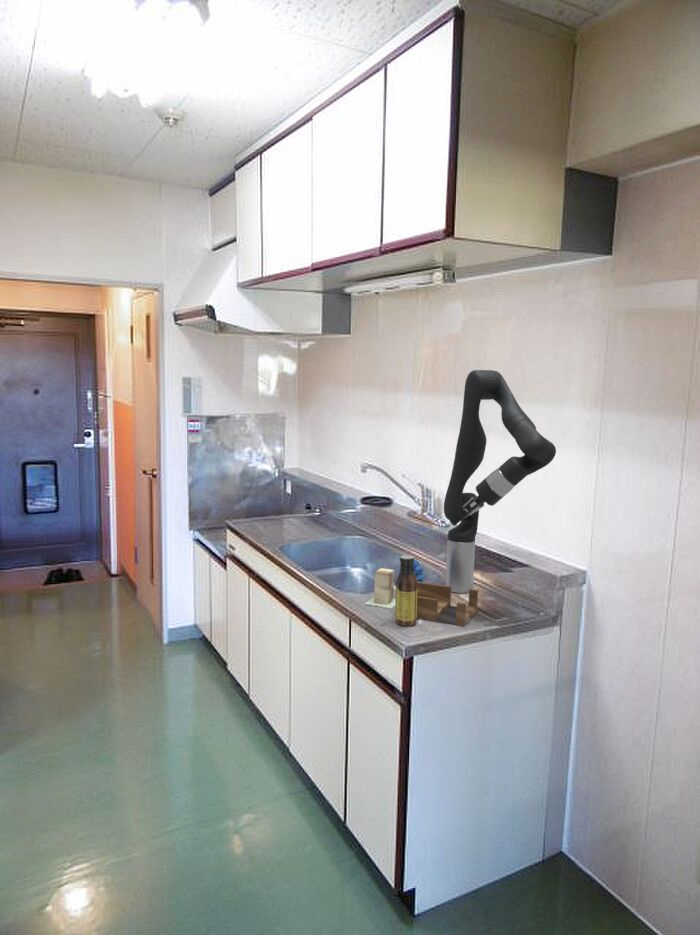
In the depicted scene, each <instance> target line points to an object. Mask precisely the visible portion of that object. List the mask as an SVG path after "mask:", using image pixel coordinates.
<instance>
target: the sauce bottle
mask: <svg viewBox="0 0 700 935" xmlns="http://www.w3.org/2000/svg"><path fill="white" fill-rule="evenodd" d="M414 560H415V556H413V555H409V554H405V555H401V556H399V563H400V566H399V568H400V569H399V572H398V576H397V579H396V582H395V599H396V606H395V607H394V608H395V612H394V613H395V614H394V616H395V623H396V624H398V625H400V626H404V627H405V626H406V627H409V626H413V625H415V624H416V623H417V579H416V576H415V575H414V573H413V571H414V570H413V563H414Z"/></svg>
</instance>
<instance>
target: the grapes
mask: <svg viewBox="0 0 700 935" xmlns="http://www.w3.org/2000/svg"><path fill="white" fill-rule="evenodd" d="M413 570H414V571H413V573H414V575H415V576H416V579H417V582H425V576H424V574H423V572H424V568H423V566H422V565H420V562H419V560H418V559H414V563H413Z"/></svg>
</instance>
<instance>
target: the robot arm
mask: <svg viewBox="0 0 700 935" xmlns="http://www.w3.org/2000/svg"><path fill="white" fill-rule="evenodd" d="M482 400H486V401H489V400H494V401H495V403H496V404H498V405H499V406H500V409H501V414H500V415H501V422H502V424H503V426H504V428H505V429H506V431H508V433H509V434H510V435H511V437H512V438H513V439H514V440H515V443H516V445H517V446H518V448H519V449H520V451H521V452H522V453H523V455H522V456H511V457H509V458H508V459H507V460H506V461H504V462H503V463H502V464H501V465H500V466H499V467H498V468H496V469H495V470H493V471H492V472H491V473H490V474H488V475H487V476H486V477H485V478H484V479H482V481H481V482H479V483H478V484H477V485H476V486H475V492H476V493H477V494H475V493H473V492H464V489H465V487H466V484H467V483H468V481H469V480H470V479H471V477H472V476H473V474H475V472H476V470H478V468H479V467H480V465H481V464H482V462H483V460H484V457H485V452H486V447H487V436H486V432H485V430H484V427H483V426H482V423H481V419H480V406H481V401H482ZM462 402H463V404H462V415H461V420H460V427H459V433H458V438H457V441H456V442H457V443H456V448H455V451H454V452H455V453H454V459H453V465H452V470H451V476H450V479H449V483H448V485H447V486H448V487H447V489H446V493H445V496H444V502H443V514H444V517H445V518H446V519H447V520H448V521H449V523H451V525H452V526H455V527H453V528H451V529H450V530H448V531H447V543H446V546H447V548H446V565H445V566H446V569H445V570H446V572H445V586H451V593H457V594H458V593H459V594H466V593H467V594H469V590H470V589H472V590H474V571H475V555H476V554H475V552H476V550H475V548H476V537H477V532H478V526H479V524H478V523H479V516H480V510H481V509H482V508H484V507H485V503H486V505H489V506H492V507H493V506H494V505H496V504H497V503H498V502H499V501H501V500H502V499H503V498H504V497H505V496H507V495H508V494H509V493H510V492H511V491H512V490H513V489H514V487H516V486H517V485H519V483H520V482H522V480H524V479H525V478H526V477H527V476H530V475H532V474H534V473H536V472H538V471H539V470H541V469H543V468H545V467H546V466H548V465H550V463H551V462H552V461H553V460H554V458H555V457H556V453H557V449H556V446H555V445H554V443H553V442H552V441H550V440H549V439H547V438H546V437H544V436H543V435H542V434H541V433H540V432H539V431H538V430H537V427H536V425H535V424H534V422H533V420H531V418H530V417H529V416H528V415H527V413H525V411H524V410H523V409H522V408H521V406H520V405H519V403H518V401H517V400H516V397H515V396H514V394H513V392H512V390H511V389H510V387H509V385H508V383H507V381H506V380H505V378H504V376H503V375H502V374H501V373H500V372H499V371H497V370H494V369H493V370H492V369H491V370H489V369H488V370H487V369H475V370H474V369H473V370H471V371H470V372H469V373H468V374H467V377H466V379H465V383H464V390H463V401H462ZM457 524H458V525H457Z"/></svg>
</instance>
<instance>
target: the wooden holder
mask: <svg viewBox="0 0 700 935" xmlns="http://www.w3.org/2000/svg"><path fill="white" fill-rule="evenodd" d="M478 600H479V590H478V589H473V590H472V589H470V590H469V592H468V605H467V603H466V602H460V601H458V602H456V606H455V605H452V604H451V603H452V602H451V601H452V592H451V586H446V585H444V584H436V583H430V582H425V581H423V582H417V618H416V620H417V619H419V620H424V621H429V622H434V623H435V622H436V623H440V624H442V623H443V624H448V625H452V626H460V627H465V626H467V624H468V623H469V621H470V620H471V619H472V618H474V616H475V615H476V613H477V612H478V605H479V602H478Z"/></svg>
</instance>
